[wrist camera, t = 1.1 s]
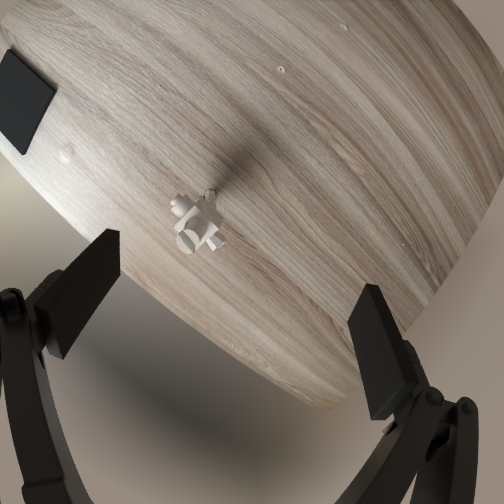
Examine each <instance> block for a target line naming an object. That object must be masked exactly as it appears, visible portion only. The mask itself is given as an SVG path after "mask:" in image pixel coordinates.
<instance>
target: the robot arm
mask: <svg viewBox="0 0 504 504" xmlns="http://www.w3.org/2000/svg"><path fill="white" fill-rule="evenodd" d="M119 276H120V231H117V230H112V229H108V228H107V229H106V230H105V231H104V232H103V233H102V234H101V235H99V236H98V237H97V238H96V239H95V240H94V241H93V242H92V243H91V244H90V245H89V246H88V247H87V248H86V249H85V250H84V251H83V252H82V253H81V254H80V255H79V256H78V257H77V258H76V259H75V260H74V261H73V262H72V263H71V264H70V265H69V266H68V267H67V268H66V269H65V270H64V271H63V270H60V269H58V270H56V271H54V272H52V273H51V274H49V275H48V276H47V277H46V278H45V279H44V280H43V282H41V283H40V284H39V286H38V287H37V288H36V289H35V290H34V291H33V292H32V293H31V294H30V295H29V296H28V297H27V298H26V300H25V301H24V297H23V294H22V292H21V291H20V290H19V289H16V288H8V289H5V290H3V291H1V292H0V396H1V386H2V379H3V383H4V392H5V400H6V406H7V413H8V418H9V423H10V429H11V434H12V438H13V443H14V447H15V450H16V455H17V459H18V462H19V466H20V469H21V473H22V475H23V479H24V485H23V486H22V495H23V499H24V501H25V504H94V503H93V502H92V501H91V499H90V497H89V495H88V493H87V492H86V489H85V487H84V485H83V483H82V480H81V478H80V476H79V473H78V471H77V469H76V466H75V464H74V461H73V459H72V456H71V453H70V451H69V448H68V445H67V443H66V440H65V437H64V434H63V431H62V428H61V424H60V421H59V418H58V415H57V411H56V408H55V404H54V400H53V396H52V392H51V389H50V385H49V380H48V375H47V371H46V367H45V362H44V356H43V353H42V350H43V348H44V347H45V345H46V347H47V349H48V352H49V354H51V355H53V356H55V357H58V358H60V359H62V360H63V359H64V358H65V356H66V354H67V353H68V351H69V349H70V348H71V346H72V345H73V343H74V342H75V340H76V338H77V337H78V335H79V334H80V332H81V331H82V329H83V328H84V326H85V325H86V323H87V322H88V320H89V319H90V317H91V316H92V314H93V313H94V311H95V310H96V309H97V307H98V305H99V304H100V303H101V301H102V300H103V299H104V297H105V296H106V294H107V293H108V291H109V290H110V289H111V287H112V286H113V284H114V283H115V282H116V280H117V279H118V278H119ZM347 323H348V327H349V330H350V334H351V338H352V341H353V345H354V349H355V353H356V357H357V361H358V365H359V369H360V373H361V377H362V381H363V386H364V390H365V394H366V398H367V403H368V408H369V412H370V417H371V420H386V419H387V418H388V417H389V416H390V415H391V414H392V413H393V415H394V421H393V422H391V423H390V425H388V426H387V427H386V428H385V429H384V430H383V431H382V432H383V433H384V432H385V431H386V432H385V434H384V435H383V437H382V439H381V440H380V442H379V443H378V445H377V446H376V448H375V449H374V451H373V452H372V454H371V456H370V457H369V459H368V460H367V461H366V463H365V464H364V466H363V467H362V469H361V470H360V471H359V473H358V474H357V475H356V477H355V478H354V480H353V481H352V482H351V483H350V485H349V486H348V487H347V489H346V490H345V491H344V493H343V494H342V495H341V496H340V498H339V499H338V500H337V501H336V502H335V504H400V503H401V501H402V500H403V498H404V496H405V494H406V492H407V490H408V489H409V487H410V485H411V483H412V481H413V479H414V477H415V475H416V473H417V477H416V481H415V485H414V489H413V493H412V497H411V500H410V504H473V503H474V496H475V487H476V477H477V465H478V438H479V434H478V433H479V430H478V429H479V427H478V408H477V406H476V404H475V403H474V402H473V400H471V399H470V398H468V397H461V398H460V399H459V400H458V401H457V403H453V402H450V401H446V400H445V399H444V396H443V395H442V393H441V392H440V391H439V390H438V389H436V388H434V387H430V385H429V382H428V380H427V377H426V375H425V373H424V370H423V367H422V365H421V364H420V360H419V358H418V355H417V353H416V351H415V349H414V347H413V346H412V345H411V344H410V342H409V341H408V340H403V339H402V336H401V334H400V332H399V330H398V327H397V325H396V323H395V320H394V318H393V316H392V314H391V312H390V309H389V307H388V305H387V303H386V301H385V299H384V297H383V294H382V292H381V290H380V288H379V286H378V285H373V284H368V283H366V285H365V287H364V289H363V291H362V293H361V295H360V297H359V299H358V301H357V303H356V305H355V307H354V309H353V311H352V313H351V315H350V317H349V319H348V321H347ZM417 471H418V472H417Z"/></svg>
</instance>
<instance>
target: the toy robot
mask: <svg viewBox="0 0 504 504" xmlns="http://www.w3.org/2000/svg"><path fill="white" fill-rule="evenodd" d="M215 199H216V195H215V191H213V190H210V189H208V190H207V191H206V192H205V198H204V197H203V196H201V197H200V198H198V199H197V200H195V202H193V201H192V200H191V198H190V197H189V196H188V195H187V194H185V195H184V196H183V197H182V196H181V195H180V194H178V195H177V196H176V197H175V198H174V199H173V200H172V201H171V202H170V203H171V204H172V205H173V208H172V209H171V210H172V211H173V212H174V213H175V214H176V215H177V216H178V217H179V220H178V221H177V222H176V224H175V225H174V226H173V228H174V229H175V230H177V231H178V232H179V234H178V236H177V240H176V241H177V245H178V247H179V248H180V250H181V251H182V252H184V253H187V254H192V253H194V251H195V248H196V249H197V248H198V249H199V247H200V246H201V245H202V244H203V243H204V242H205V241H206V242H207V243H208V245H209V246H210V248H211V249H212V250H213V251H215V250H217V249H218V248H220V247H221V246H222V245H224V244H225V243H226V242H227V240H226V238H225V237H224V236H223V235H222V234H220V233H219V232H217V231H218V230H219V228H220V225H221V223H222V220H223V216H222V215H221V214H220V213H219V212H218V211H217V210H216V203H215Z"/></svg>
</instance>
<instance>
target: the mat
mask: <svg viewBox="0 0 504 504" xmlns="http://www.w3.org/2000/svg"><path fill="white" fill-rule="evenodd" d="M56 92H57V91H56V90H55V89H54V88H52V87H51V86H50V85H49V84H48V83H47V82H46V81H45V80H44V79H42V78H41V77H40V76H39V75H38V74H37V73H36V72H35V71H34V70H32V69H31V68H30V67H29V66H28V65H27V64H26V63H25V62H24V61H23V60H21V59H20V58H19V57H18V56H17V55H16V54H15V53H14V52H13V51H12V50H10V49H7V51H6V53H5V55H4V57H3V59H2V61H1V63H0V131H1V132H2V134H3V135H4V136H5V137H6V138H7V139H8V140H9V141H10V142H11V144H12V145H13V146H14V147H15V148H16V149H17V150H18V151H19V152H20V153H21V154H22V155H25V154H26V152H27V149H28V147H29V145H30V143H31V140H32V138H33V136H34V134H35V132H36V130H37V127H38V125H39V123H40V121H41V119H42V117H43V115H44V114H45V112H46V110H47V108H48V106H49V104H50V102H51V100H52V99H53V97H54V95H55V93H56Z"/></svg>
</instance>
